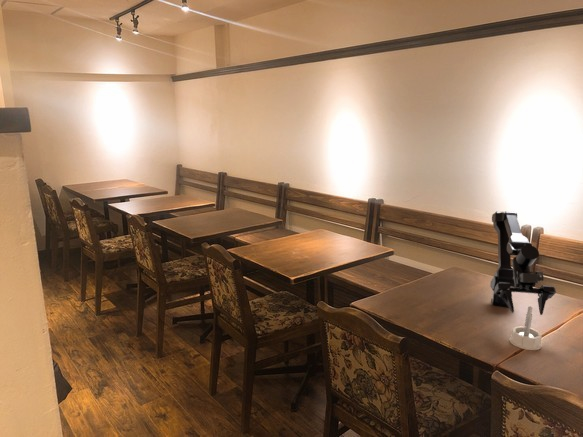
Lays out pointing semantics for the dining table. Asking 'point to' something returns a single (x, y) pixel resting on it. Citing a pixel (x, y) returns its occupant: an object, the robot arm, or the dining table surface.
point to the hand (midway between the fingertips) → (527, 313)
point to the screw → (527, 324)
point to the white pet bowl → (526, 339)
